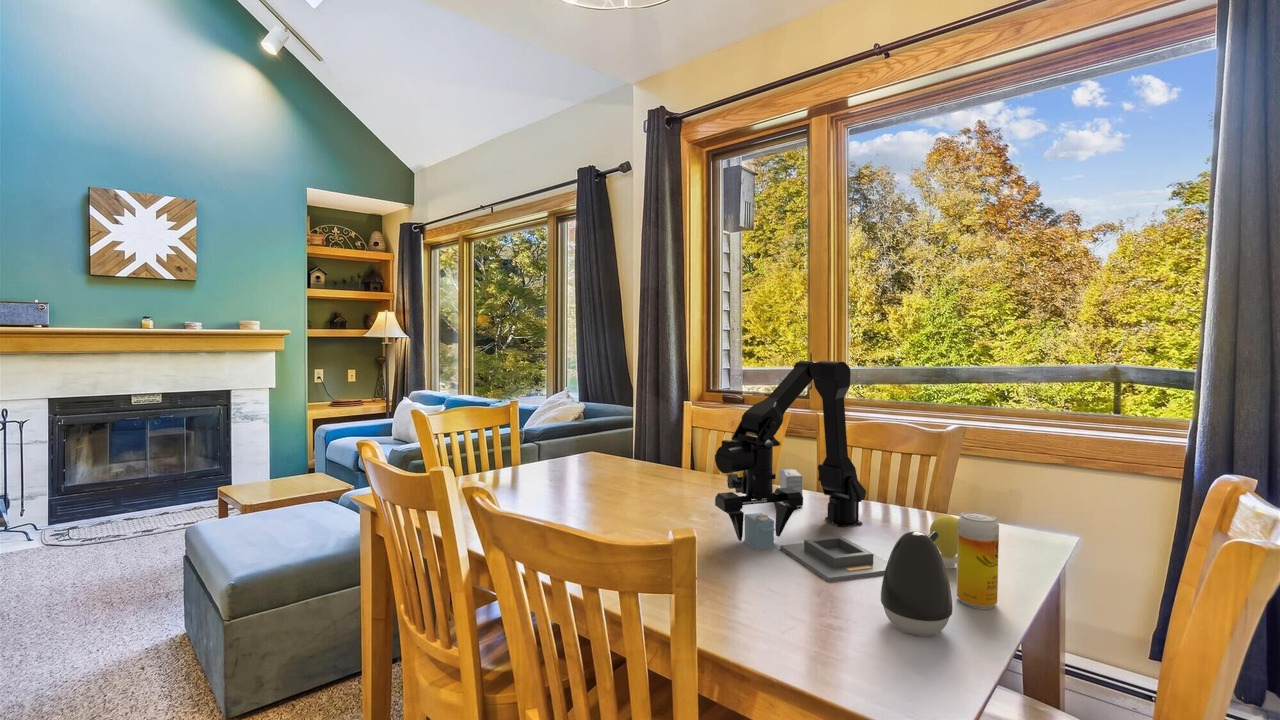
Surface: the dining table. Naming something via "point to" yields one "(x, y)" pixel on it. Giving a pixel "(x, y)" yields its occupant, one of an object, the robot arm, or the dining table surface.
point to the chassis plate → (836, 558)
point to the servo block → (759, 531)
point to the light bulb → (946, 539)
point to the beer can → (977, 560)
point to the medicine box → (791, 480)
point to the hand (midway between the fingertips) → (758, 538)
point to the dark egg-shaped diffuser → (917, 586)
